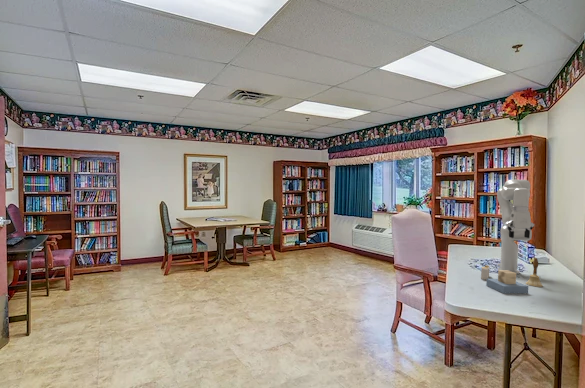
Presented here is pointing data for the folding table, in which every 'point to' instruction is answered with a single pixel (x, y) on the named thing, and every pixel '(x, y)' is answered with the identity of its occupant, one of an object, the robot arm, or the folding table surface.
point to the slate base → (507, 287)
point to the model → (485, 272)
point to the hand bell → (534, 276)
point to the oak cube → (506, 277)
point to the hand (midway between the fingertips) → (519, 237)
